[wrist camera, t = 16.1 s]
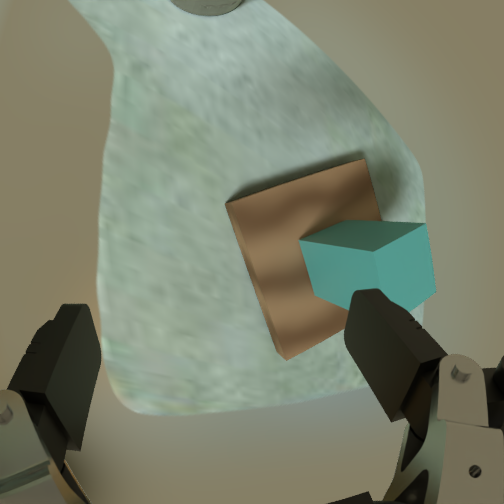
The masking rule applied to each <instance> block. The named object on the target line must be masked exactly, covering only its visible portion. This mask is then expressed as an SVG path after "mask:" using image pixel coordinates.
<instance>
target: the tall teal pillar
mask: <svg viewBox="0 0 504 504" xmlns="http://www.w3.org/2000/svg"><path fill="white" fill-rule="evenodd" d="M298 241H299V244H300V247H301V250H302V254H303V257H304V260H305V264H306V267H307V271H308V274H309V277H310V281H311V284H312V288H313V291H314V295H315V296H317V297H319V298H322V299H324V300H326V301H328V302H331V303H333V304H335V305H338V306H340V307H342V308H344V309H347V310H349V307H350V303H351V298H352V295H353V293H354V291H356V290H363V289H372V288H378V289H380V290H381V291H382V292H383V293H384V294H385V295H386V296H387V297H388V298H389V299H390V301H391V302H392V301H393V302H394V303H396V304H398V305H399V306H401V307H403V308H405V309H406V310H407V311H408V312H410V311H411V310H413V309H414V308H415V307H417V306H418V305H420V304H421V303H422V302H424V301H425V300H426V299H427V298H429V297H430V296H431V295H433V294H434V293H435V292H436V287H435V278H434V270H433V264H432V256H431V249H430V243H429V238H428V232H427V226H426V223H411V222H390V221H365V220H344V221H342V222H340V223H337V224H335V225H333V226H330V227H328V228H326V229H323V230H321V231H319V232H316V233H314V234H312V235H309V236H307V237H305V238H302V239H300V240H298Z"/></svg>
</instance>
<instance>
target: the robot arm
mask: <svg viewBox="0 0 504 504" xmlns="http://www.w3.org/2000/svg"><path fill="white" fill-rule="evenodd" d="M241 1H242V0H171V2H172V3H173V4H175V5H176V6H177V7H179V8H180V9H182V10H184V11H186V12H189V13H192V14H196V15H203V16H215V15H221V14H225V13H227V12H230V11H232V10H233V9H235V8H236V7H237V6H238V5H239V4H240V3H241ZM344 341H345V345H346V348H347V350H348V351H349V353H350V355H351V356H352V358H353V359H354V361H355V363H356V364H357V366H358V368H359V369H360V371H361V373H362V374H363V376H364V378H365V379H366V381H367V383H368V384H369V386H370V387H371V389H372V391H373V392H374V394H375V396H376V397H377V399H378V401H379V403H380V404H381V406H382V407H383V409H384V411H385V413H386V414H387V416H388V418H389V419H390V421H391V422H394V421H397V420H400V419H403V418H406V419H407V421H408V424H407V425H406V427H405V430H404V435H403V440H402V444H401V449H400V453H399V458H398V462H397V466H396V470H395V474H394V477H393V480H392V482H391V484H390V486H389V488H388V490H387V492H386V493H385V495H384V498H383V500H382V501H373V500H372V498H371V496H370V494H369V492H365V493H362V494H359V495H355V496H352V497H349V498H346V499H342V500H339V501H335V502H331V503H328V504H504V356H503V357H502V359H501V361H500V363H499V364H498V366H497V368H484V369H481V367H480V366H479V365H478V364H477V363H476V362H475V361H474V360H472V359H471V358H469V357H466V356H463V355H458V354H451V355H448V354H447V353H446V352H445V351H444V350H443V349H442V348H441V347H440V345H439V344H438V343H437V342H436V341H435V340H434V339H433V338H432V337H431V336H430V334H429V333H428V332H427V331H426V330H425V329H422V326H421V325H420V324H419V323H418V322H417V321H415V318H414V317H413V316H412V315H411V314H410V313H409V312H408V311H407V310H406V309H405V308H403V307H401V306H399V305H398V304H396V303H394V302H393V301H392V302H391V301H390V299H389V298H388V297H387V296H386V295H385V294H384V293H383V292H382V291H381V290H380V289H378V288H372V289H363V290H356V291H354V293H353V295H352V298H351V303H350V307H349V312H348V316H347V321H346V325H345V330H344ZM100 365H101V348H100V344H99V340H98V337H97V334H96V330H95V327H94V323H93V319H92V316H91V312H90V309H89V307H88V305H87V304H63V305H62V306H61V307H60V309H59V311H58V312H57V314H56V316H55V318H54V320H49V321H47V322H46V323H45V324H44V325H43V326H42V327H41V328H39V329H38V330H37V332H36V334H35V335H34V337H33V339H32V341H31V344H30V345H29V346H28V348H27V350H26V354H25V355H24V356H23V357H22V359H21V362H20V363H19V365H18V367H17V369H16V371H15V373H14V375H13V377H12V379H11V381H10V384H9V386H8V388H7V390H0V504H92V503H91V502H90V500H89V498H88V497H87V496H86V494H85V492H84V491H83V489H82V488H81V486H80V484H79V483H78V481H77V479H76V478H75V476H74V474H73V473H72V471H71V469H70V468H69V466H68V464H67V462H66V461H65V460H64V459H65V454H66V449H67V450H74V451H81V446H82V441H83V436H84V431H85V426H86V421H87V417H88V413H89V408H90V404H91V400H92V396H93V392H94V388H95V384H96V380H97V376H98V372H99V369H100Z"/></svg>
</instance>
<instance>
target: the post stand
mask: <svg viewBox="0 0 504 504" xmlns="http://www.w3.org/2000/svg"><path fill="white" fill-rule="evenodd" d="M225 206H226V209H227V212H228V215H229V218H230V221H231V223H232V226H233V229H234V232H235V235H236V238H237V241H238V244H239V246H240V249H241V252H242V255H243V258H244V261H245V264H246V266H247V269H248V272H249V275H250V278H251V281H252V283H253V286H254V289H255V292H256V295H257V298H258V300H259V303H260V306H261V309H262V312H263V314H264V317H265V320H266V323H267V326H268V328H269V331H270V334H271V337H272V340H273V342H274V345H275V348H276V351H277V352H278V353H279V354H280V355H281V356H282V357H283V358H284V359H285V360H286V361H287V360H289V359H291V358H292V357H294V356H296V355H298V354H300V353H302V352H304V351H306V350H307V349H309V348H311V347H313V346H315V345H316V344H318V343H320V342H322V341H324V340H325V339H327V338H329V337H331V336H332V335H334V334H336V333H338V332H339V331H341V330H343V329H344V328H345V325H346V321H347V316H348V312H349V310H347V309H344V308H342V307H340V306H338V305H335V304H333V303H331V302H328V301H326V300H324V299H322V298H319V297H317V296H315V295H314V291H313V288H312V284H311V281H310V277H309V274H308V271H307V267H306V264H305V260H304V257H303V254H302V250H301V247H300V244H299V241H298V240H300V239H302V238H305V237H307V236H309V235H312V234H314V233H316V232H319V231H321V230H323V229H326V228H328V227H330V226H333V225H335V224H337V223H340V222H342V221H344V220H365V221H381V217H380V213H379V209H378V205H377V201H376V197H375V193H374V189H373V186H372V182H371V179H370V175H369V172H368V168H367V165H366V161H365V159H360V160H356V161H351V162H348V163H345V164H341V165H338V166H335V167H332V168H328V169H325V170H322V171H319V172H316V173H313V174H310V175H306V176H303V177H300V178H297V179H294V180H291V181H288V182H285V183H282V184H279V185H276V186H273V187H270V188H267V189H265V190H262V191H259V192H256V193H253V194H250V195H247V196H244V197H242V198H239V199H236V200H233V201H230V202H228V203H225Z"/></svg>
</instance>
